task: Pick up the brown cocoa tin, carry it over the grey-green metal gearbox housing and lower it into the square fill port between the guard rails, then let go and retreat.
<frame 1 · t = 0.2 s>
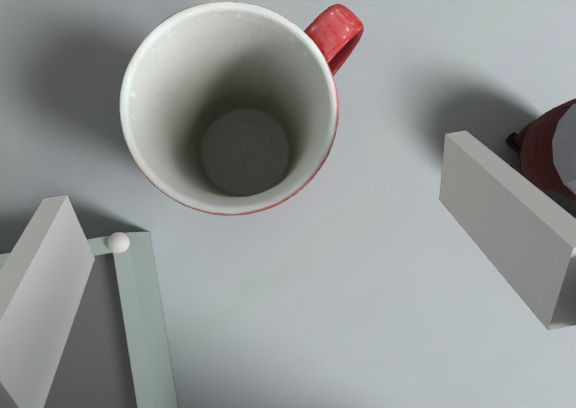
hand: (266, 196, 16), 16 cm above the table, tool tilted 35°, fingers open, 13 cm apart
gearbox housing: (63, 350, 31), on the table
mug: (264, 141, 32), on the table
mate gourd: (543, 163, 33), on the table
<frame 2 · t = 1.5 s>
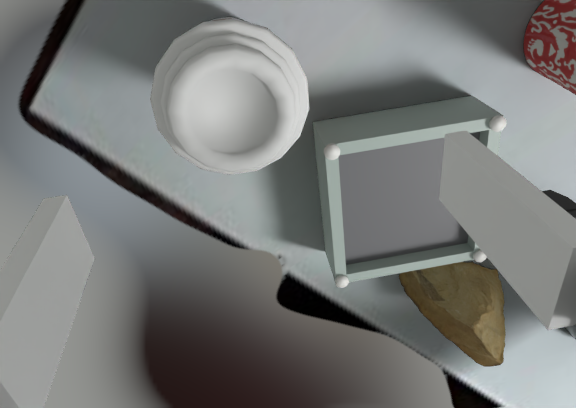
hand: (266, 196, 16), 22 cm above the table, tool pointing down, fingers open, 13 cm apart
gearbox housing: (392, 180, 42), on the table
coffee cup: (228, 60, 35), on the table
rock: (444, 272, 49), on the table
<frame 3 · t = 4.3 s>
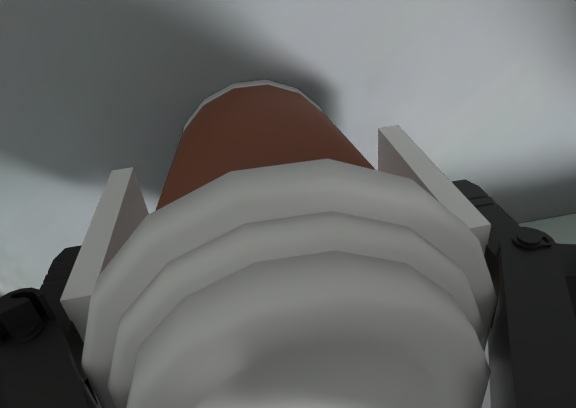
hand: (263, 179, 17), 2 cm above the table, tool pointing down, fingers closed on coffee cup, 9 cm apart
gearbox housing: (506, 318, 26), on the table
coffee cup: (257, 154, 19), on the table, touching gripper
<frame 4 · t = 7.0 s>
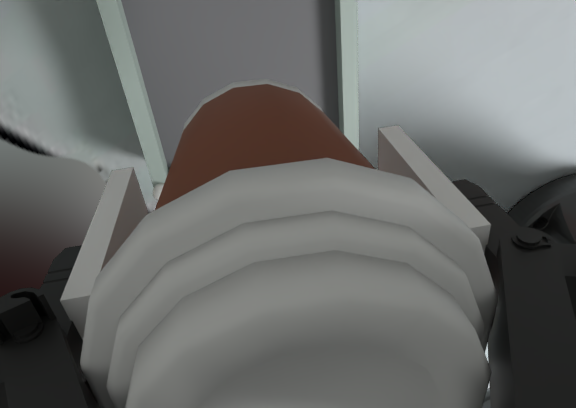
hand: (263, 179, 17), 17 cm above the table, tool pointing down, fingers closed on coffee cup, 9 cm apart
gearbox housing: (239, 59, 31), on the table
coffee cup: (257, 154, 19), point 15 cm above the table, touching gripper
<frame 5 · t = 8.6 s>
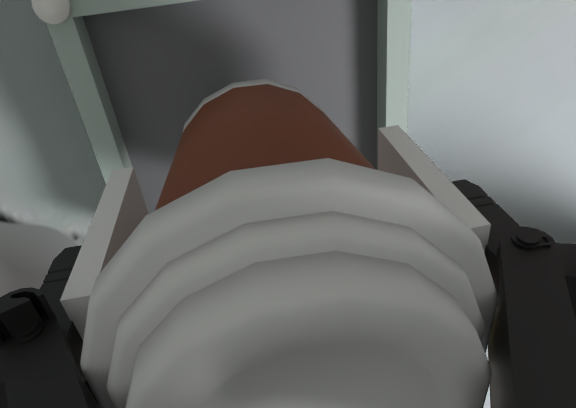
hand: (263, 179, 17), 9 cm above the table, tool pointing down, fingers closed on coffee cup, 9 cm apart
gearbox housing: (248, 103, 24), on the table
coffee cup: (257, 154, 19), point 7 cm above the table, touching gripper
when the fingers open (7 cm above the table, at t = 9.9 s): coffee cup drops 1 cm, resting on gearbox housing.
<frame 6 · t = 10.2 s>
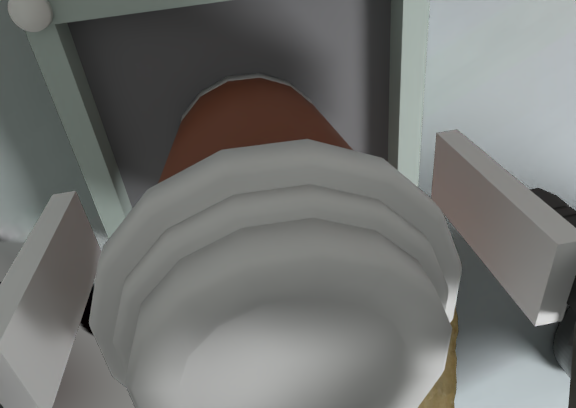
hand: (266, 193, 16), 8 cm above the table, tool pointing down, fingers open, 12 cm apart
gearbox housing: (249, 113, 23), on the table
coffee cup: (251, 144, 20), point 4 cm above the table, touching gearbox housing
rock: (365, 279, 30), on the table
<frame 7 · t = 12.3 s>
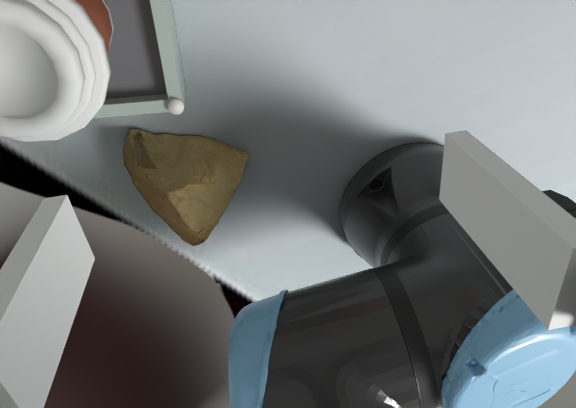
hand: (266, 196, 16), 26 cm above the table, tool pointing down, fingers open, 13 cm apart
gearbox housing: (79, 8, 35), on the table
coffee cup: (66, 19, 32), point 4 cm above the table, touching gearbox housing
rock: (185, 149, 43), on the table
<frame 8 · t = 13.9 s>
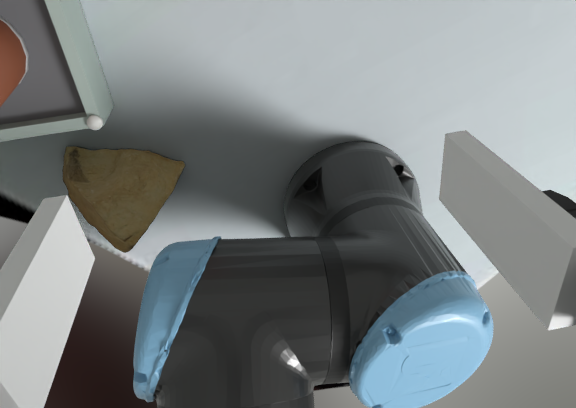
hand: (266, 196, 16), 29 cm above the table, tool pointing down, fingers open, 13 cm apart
gearbox housing: (3, 38, 38), on the table
rock: (123, 162, 45), on the table
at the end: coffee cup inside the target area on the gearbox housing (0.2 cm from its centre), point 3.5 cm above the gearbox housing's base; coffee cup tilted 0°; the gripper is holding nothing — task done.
